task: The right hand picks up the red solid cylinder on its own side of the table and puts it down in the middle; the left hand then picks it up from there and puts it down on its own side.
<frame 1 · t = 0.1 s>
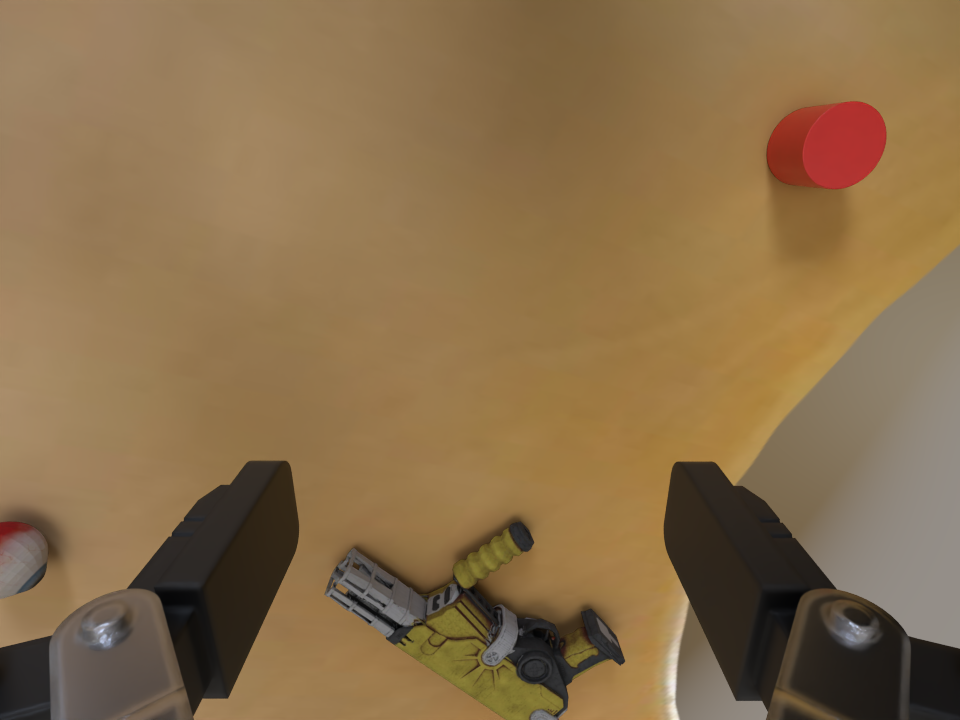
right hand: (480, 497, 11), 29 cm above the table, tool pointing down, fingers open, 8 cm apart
eyeball: (33, 535, 48), on the table
red solid cylinder: (803, 147, 36), on the table
toy gun: (489, 585, 49), on the table
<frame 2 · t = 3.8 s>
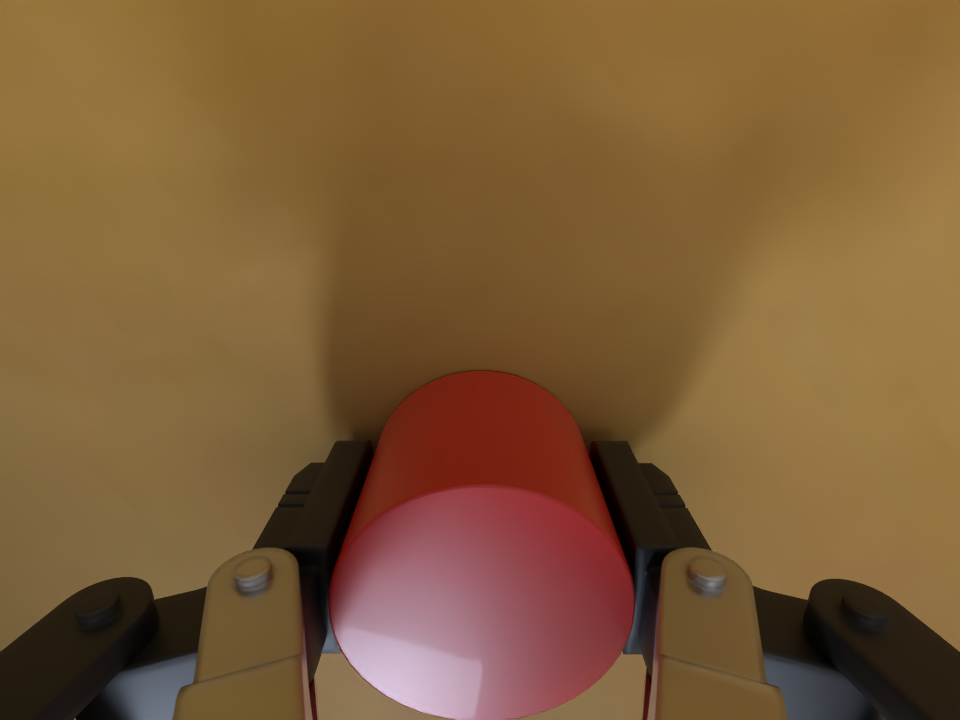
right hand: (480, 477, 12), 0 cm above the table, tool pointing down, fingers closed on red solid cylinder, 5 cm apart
red solid cylinder: (481, 466, 13), on the table, touching right hand
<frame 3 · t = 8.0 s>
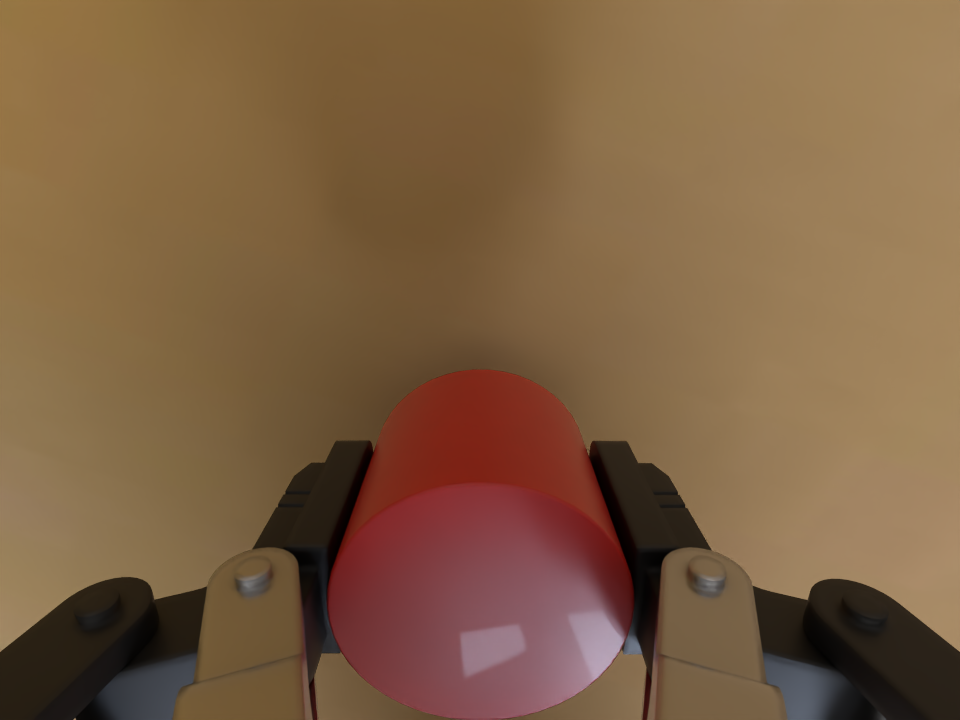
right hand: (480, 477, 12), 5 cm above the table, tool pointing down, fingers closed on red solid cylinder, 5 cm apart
red solid cylinder: (480, 465, 13), point 4 cm above the table, touching right hand
when the right hand's fingers open (2 cm above the table, at t = 12.3 s): red solid cylinder drops 1 cm, on the table.
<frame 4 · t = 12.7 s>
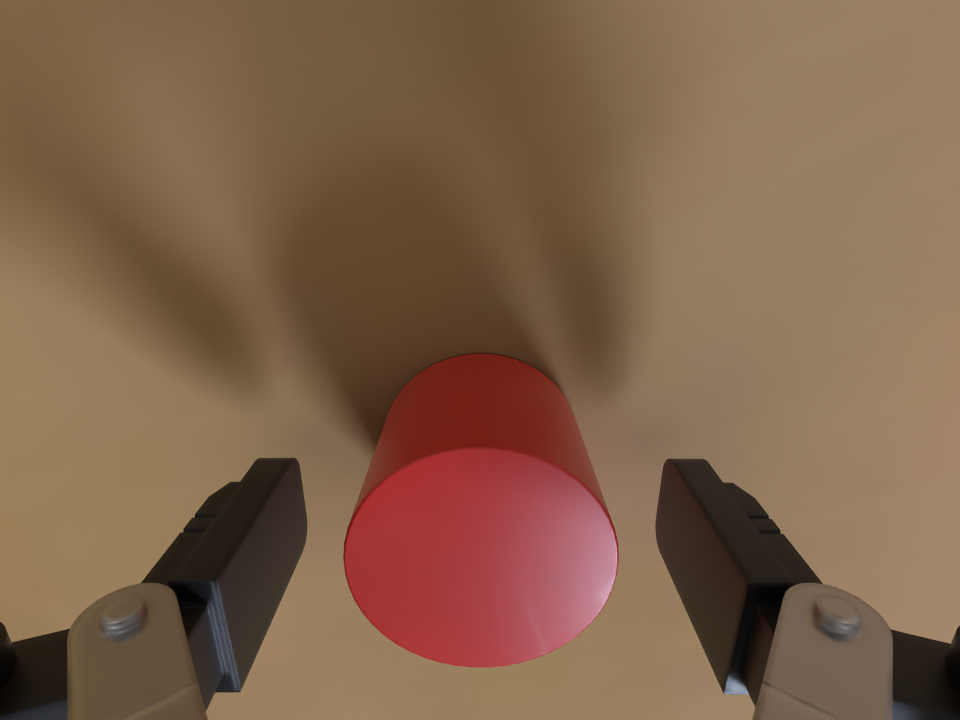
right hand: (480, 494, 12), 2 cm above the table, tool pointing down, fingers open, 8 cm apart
red solid cylinder: (480, 443, 14), on the table
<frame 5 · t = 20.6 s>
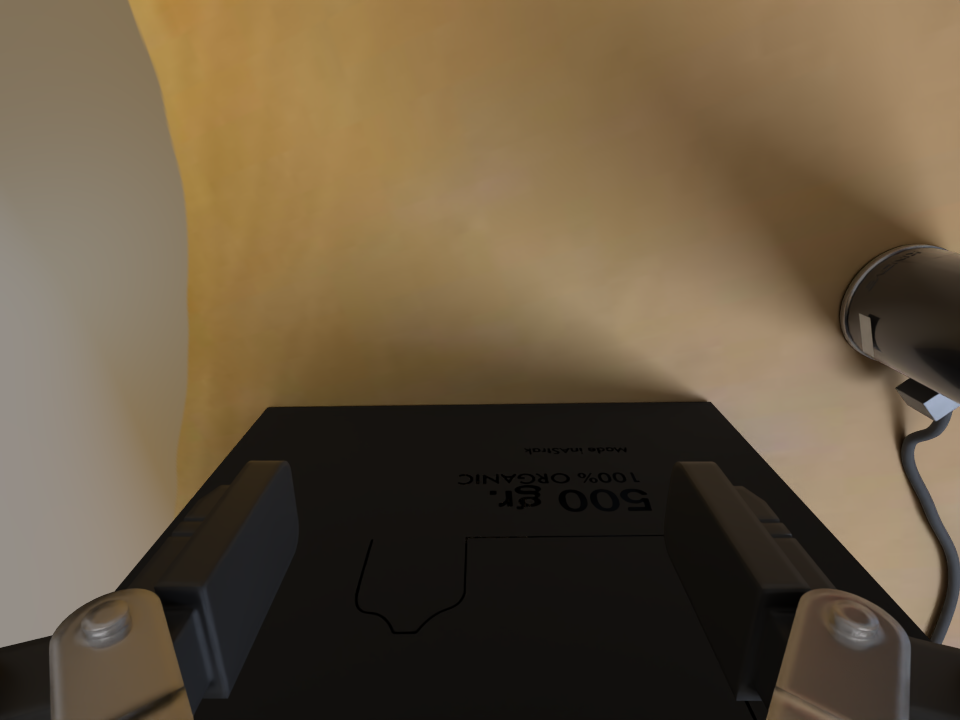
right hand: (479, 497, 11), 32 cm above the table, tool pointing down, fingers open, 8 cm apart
cardboard box: (489, 503, 50), on the table
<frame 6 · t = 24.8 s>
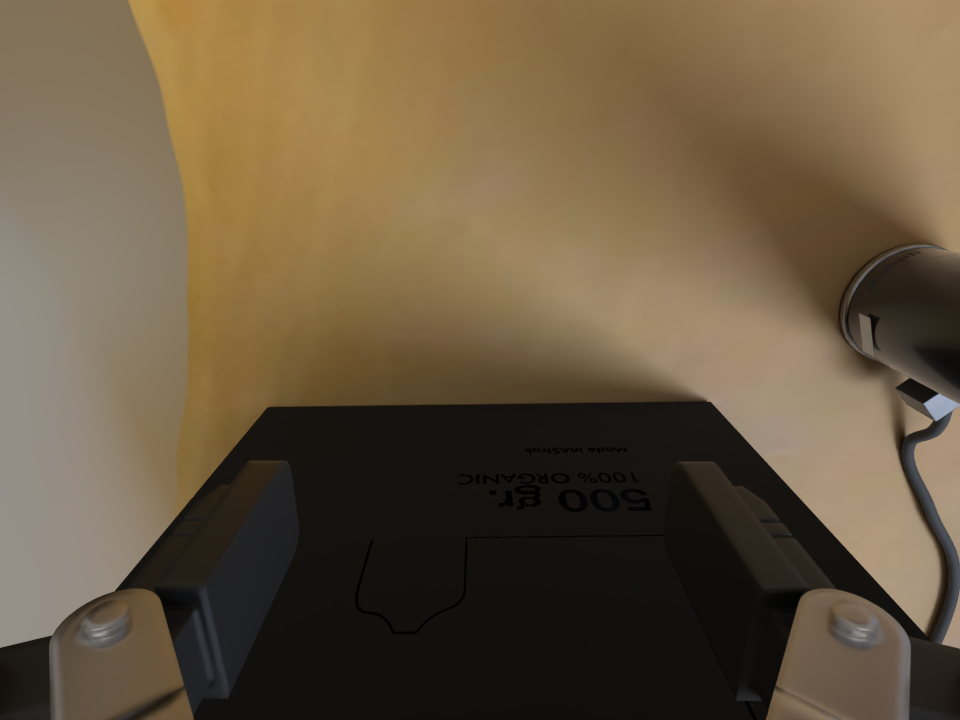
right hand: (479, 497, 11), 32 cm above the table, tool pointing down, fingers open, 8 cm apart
cardboard box: (489, 503, 50), on the table
when the left hand's fingers open (2 cm above the table, at t = 28.9 s): red solid cylinder drops 1 cm, on the table.
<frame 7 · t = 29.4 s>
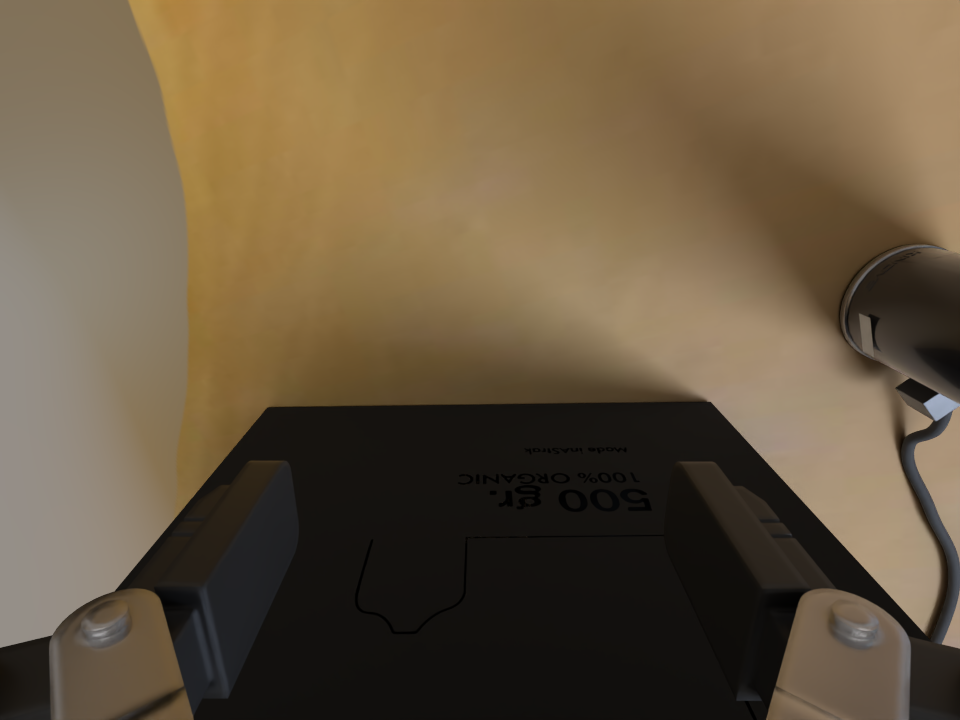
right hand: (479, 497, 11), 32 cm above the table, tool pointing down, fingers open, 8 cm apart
cardboard box: (489, 503, 50), on the table
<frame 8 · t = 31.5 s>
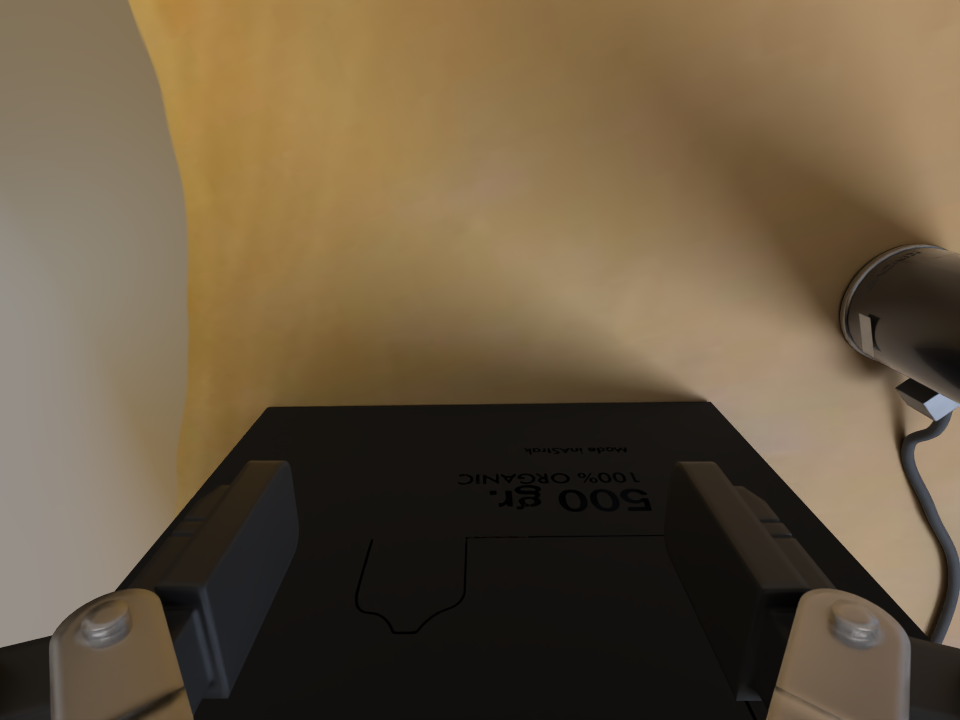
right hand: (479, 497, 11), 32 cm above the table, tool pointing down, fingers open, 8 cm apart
cardboard box: (489, 503, 50), on the table
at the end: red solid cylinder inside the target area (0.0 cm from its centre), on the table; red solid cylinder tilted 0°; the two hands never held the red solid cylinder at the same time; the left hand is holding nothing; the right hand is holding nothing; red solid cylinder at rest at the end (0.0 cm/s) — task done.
